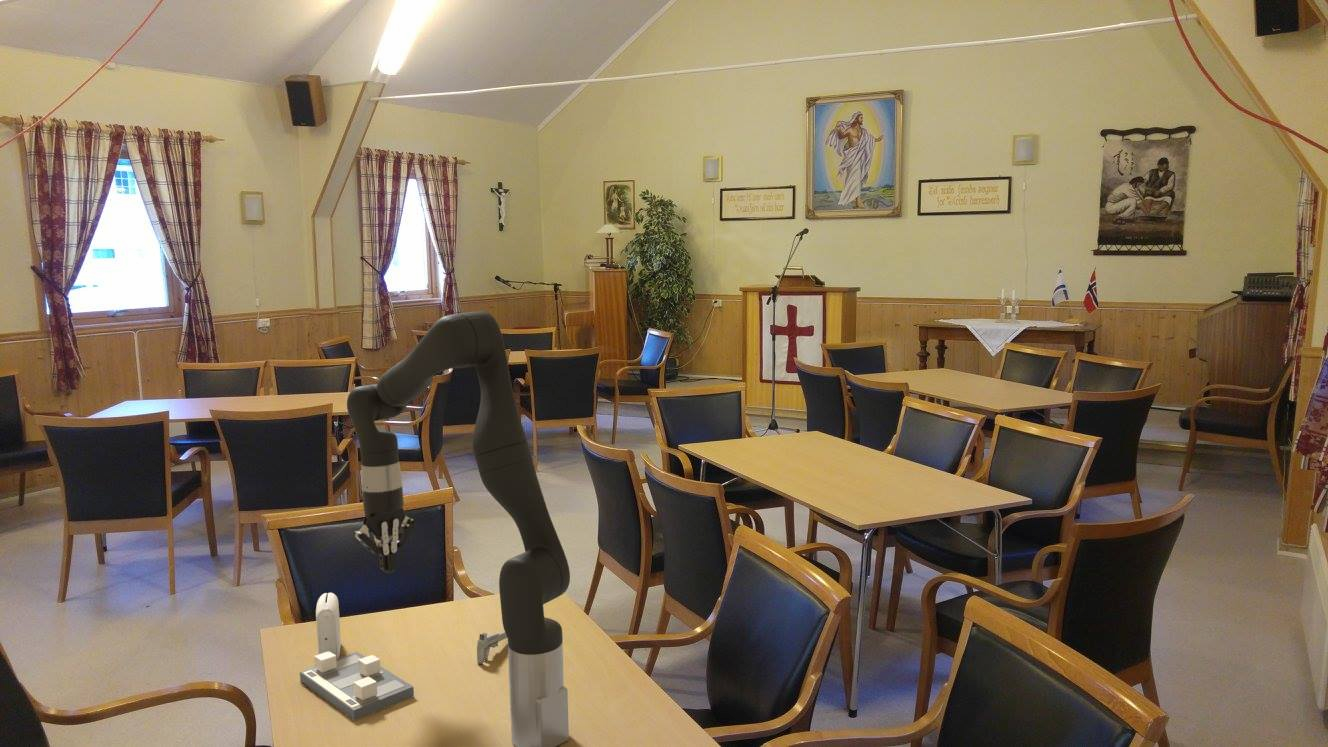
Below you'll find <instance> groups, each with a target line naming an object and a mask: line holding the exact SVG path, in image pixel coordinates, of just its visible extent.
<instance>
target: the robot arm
mask: <svg viewBox="0 0 1328 747" xmlns="http://www.w3.org/2000/svg"><path fill="white" fill-rule="evenodd" d="M506 351H507V350H506V348H505V342H504V338H503V334H502V332H501V329H500V327H499V324H498V322H497V320H496V318H495V317H494V316H493V315H491V314H490V313H489V312H487V311H482V310H481V311H480V310H479V311H470V312H469V311H468V312H462V313H454V314H448V315H445V316H442V317H441V318H439V319H438V320H437V321H436V322H435V323H434V324H432V326H431V327H430V328H429V329H428V330H427V332H425V334H424V336H423V337H422V338H421V339H420V340H419V341H418V343H417V344H416V345H415V347H413V349H412V350H411V351H410V352H409V353H408V355H406V356H405V357H404V358H402V360H401V361H398V363H396V364H395V365H393V366H392V367H391V368H389V369H388V370H387V371H385V372H384V373H383V374H382V375H381V376H380V378H379V379H378V381H377V383H376V384H368V385H366V384H365V385H360V386H357V387H355V388H353V389H352V390H351V391H350V392H349V393H348V395H347V400H346V410H347V412H348V416H349V419H350V420H351V423H352V426H353V428H354V430H355V434H356V436H357V437H356V438H357V440H358V443H359V449H360V462H361V463H360V465H361V473H360V478H361V483H360V484H361V485H360V486H361V491H362V492H361V493H362V503H363V505H362V506H363V512H364V518H363V522H362V524H363V525H362V526H361V528H360V529H359V530H355V531H353V534H352V535H353V537H354V538H355V539H356V540H357V541H358V542H359V543H360V544H361V545H362V546H364V548H365V549H367V551H368V552H370V553H372V554H375V555H378V559H379V568H380V570H381V571H382V572H383V573H386V574H389V573H393V572H394V571H395V569H396V568H397V554H396V553H397V551H398V550H399V549H400V548H404V547H405V545H406V543H407V541H408V540H409V538H410V536H411V534H412V532H413V530H414V528H415V527H416V525H417V520H416V519H413V518H410V517H409V516H407V513H406V511H405V510H404V502H405V501H404V492H403V491H404V490H403V478H402V477H403V476H402V470H401V464H400V459H399V458H400V457H399V443H398V437H397V435H396V433H394V432H391V431H386V430H378V428H377V425H376V424H375V422H377V421H382V420H388V419H392V418H395V417H398V416H399V415H401V414H402V413H404V412H405V410H406V408H407V407H408V405H409V403H410V402H412V401H413V400H415V399H417V397H419V396H420V395H422V394H423V393H424V392H425V391H427V390H428V389H429V387H430V385H431V384H432V381H433V377H434V376H435V375H436V374H439V373H442V372H444V371H448V370H452V369H463V368H469V367H474V368H475V370H476V371H475V372H476V373H477V377H478V378H477V379H478V383H479V387H480V404H479V407H478V413H477V415H476V416H477V417H476V421H475V425H474V428H473V429H474V430H473V434H472V435H473V436H472V451H473V456H474V459H475V463H476V466H477V468H478V472H479V476H480V479H481V482H482V484H483V486H484V487H485V489H486V490H487V492H488V493H489V494H490V495H491V496H492V497H493V498H494V500H495V501H496V502H498V504H499V505H500V507H502V508H503V509H504V510H505V511H506V512H507V514H509V516H510V517H511V518H512V520H513V521H514V523H515V525H516V527H517V529H518V532H519V534H520V537H521V540H522V544H523V546H524V552H522V553H520V554H517V555H516V556H513V557H511V558H509V559H508V560H506V561H505V562H504V563H503V564H502V567H501V569H500V572H499V577H498V578H499V579H498V585H499V586H498V590H499V600H500V609H501V611H500V612H501V623H502V627H503V631H504V630H505V633H506V635H507V638H506V639H507V650H508V651H507V653H508V654H507V655H508V656H507V657H508V677H509V678H508V679H509V705H510V708H509V709H510V710H509V711H510V728H511V729H510V731H511V742H512V744H513V745H514V746H515V747H557V746H559V745H561V744H563V743H565V742H567V741H569V740H570V732H569V730H570V729H569V727H570V726H569V697H568V695H569V694H568V688H567V687H566V686H564V685H565V682H564V680H565V676H564V645H563V644H564V642H563V641H564V640H563V628H562V626H561V624H560V623H559V622H558V621H557V620H555V619H553V618H548V617H546V616H545V609H544V605H546V604H547V603H550V602H551V601H553V600H555V599H557V598H559V597H560V596H562V595H564V594H565V593H566V592H567V590H568V589H569V585H570V582H571V571H570V566H569V562H568V559H567V557H566V554H565V550H564V548H563V546H562V543H561V540H560V539H559V535H558V534H557V530H556V529H555V526H554V524H553V521H552V518H551V516H550V513H549V511H548V507H547V504H546V501H545V497H544V494H543V491H542V488H541V485H540V482H539V478H538V475H537V471H536V467H535V464H534V463H535V462H534V460H533V456H532V452H531V448H530V445H529V442H528V439H527V435H526V433H525V429H524V427H523V423H522V420H521V416H520V412H519V409H518V408H519V407H518V405H517V404H518V403H517V401H516V397H515V392H514V389H513V385H512V384H513V383H512V380H511V374H510V368H509V362H508V358H507V353H506ZM369 532H370V533H369ZM370 534H371V535H372V536H373V540H374V541H372V539H371V538H370V537H371V536H370Z"/></svg>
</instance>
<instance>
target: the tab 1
mask: <svg viewBox="0 0 1328 747" xmlns="http://www.w3.org/2000/svg"><path fill="white" fill-rule="evenodd" d="M313 656H314V657H313V658H314V667H315V668H316V669H317V670H319V671H320V672H322V673H323V672H326V671H328V670H331V669H334V668H337V663H336V655H334V654H333V653H331V652H330V651H327V652H324V653H322V654H319V653H318V654H317V655H316V654H315V655H313Z"/></svg>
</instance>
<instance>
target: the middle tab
mask: <svg viewBox="0 0 1328 747" xmlns="http://www.w3.org/2000/svg"><path fill="white" fill-rule="evenodd" d="M358 666H359V672H360V673H361V674H363V675H364V676H366V677H367V676H370V675H373V674H375V673H378V672H381V667H382V666H381V658H379V657H377V656H375V655H374V654H370V655H368V656H365V657H364V658H362V659H359V660H358ZM380 666H381V667H380Z"/></svg>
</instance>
